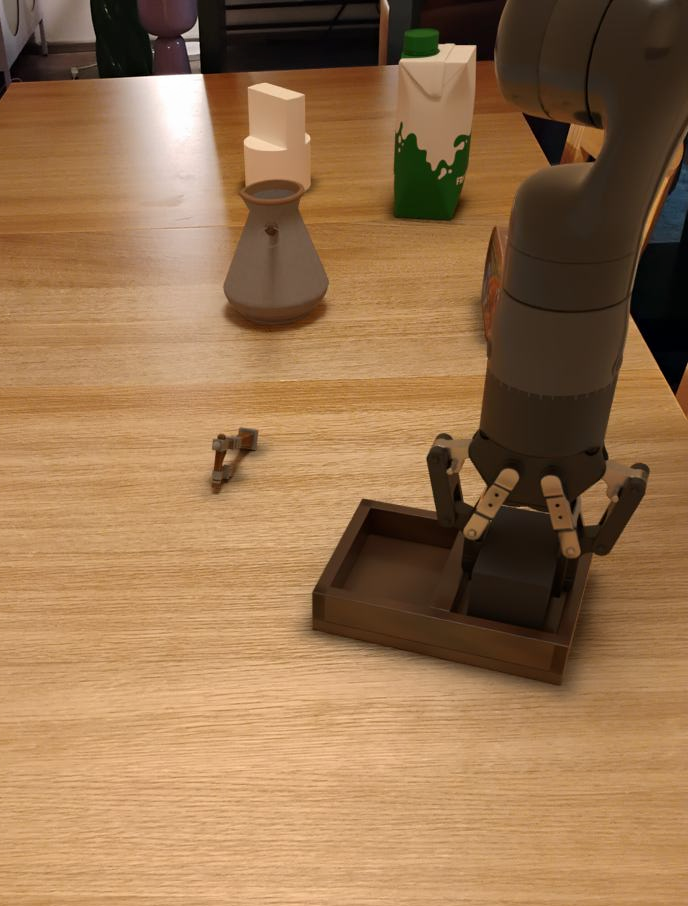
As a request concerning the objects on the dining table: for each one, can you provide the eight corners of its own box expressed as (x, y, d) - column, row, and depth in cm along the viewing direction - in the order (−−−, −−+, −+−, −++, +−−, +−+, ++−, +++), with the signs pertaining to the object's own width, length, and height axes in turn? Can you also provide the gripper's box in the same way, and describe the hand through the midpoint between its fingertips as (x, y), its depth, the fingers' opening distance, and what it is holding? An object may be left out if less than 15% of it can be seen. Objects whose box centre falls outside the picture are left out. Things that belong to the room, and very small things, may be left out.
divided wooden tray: (587, 577, 76) (596, 539, 74) (560, 685, 68) (569, 647, 66) (360, 534, 82) (362, 497, 80) (311, 628, 74) (311, 592, 72)
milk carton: (399, 195, 136) (408, 23, 123) (468, 198, 134) (485, 23, 120) (385, 220, 130) (393, 42, 117) (458, 223, 128) (474, 42, 114)
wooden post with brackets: (200, 487, 87) (205, 434, 86) (234, 474, 94) (240, 424, 93) (220, 491, 86) (226, 437, 85) (253, 477, 94) (258, 427, 92)
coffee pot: (227, 289, 118) (219, 152, 108) (327, 285, 117) (328, 146, 107) (216, 380, 103) (205, 230, 92) (332, 376, 101) (333, 224, 91)
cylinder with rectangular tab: (324, 185, 141) (324, 89, 133) (271, 203, 137) (268, 105, 129) (284, 170, 146) (282, 77, 138) (232, 186, 143) (227, 92, 135)
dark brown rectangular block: (560, 561, 74) (569, 516, 71) (540, 632, 69) (549, 586, 66) (490, 548, 76) (497, 504, 73) (466, 616, 70) (472, 571, 68)
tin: (479, 290, 113) (488, 212, 108) (509, 289, 113) (519, 212, 107) (487, 354, 103) (497, 272, 97) (520, 354, 102) (532, 271, 96)
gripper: (689, 345, 61) (629, 570, 72) (447, 317, 65) (428, 532, 77) (677, 408, 56) (615, 639, 67) (417, 373, 60) (401, 594, 72)
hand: (515, 581), depth 72 cm, fingers closed on dark brown rectangular block, 5 cm apart
